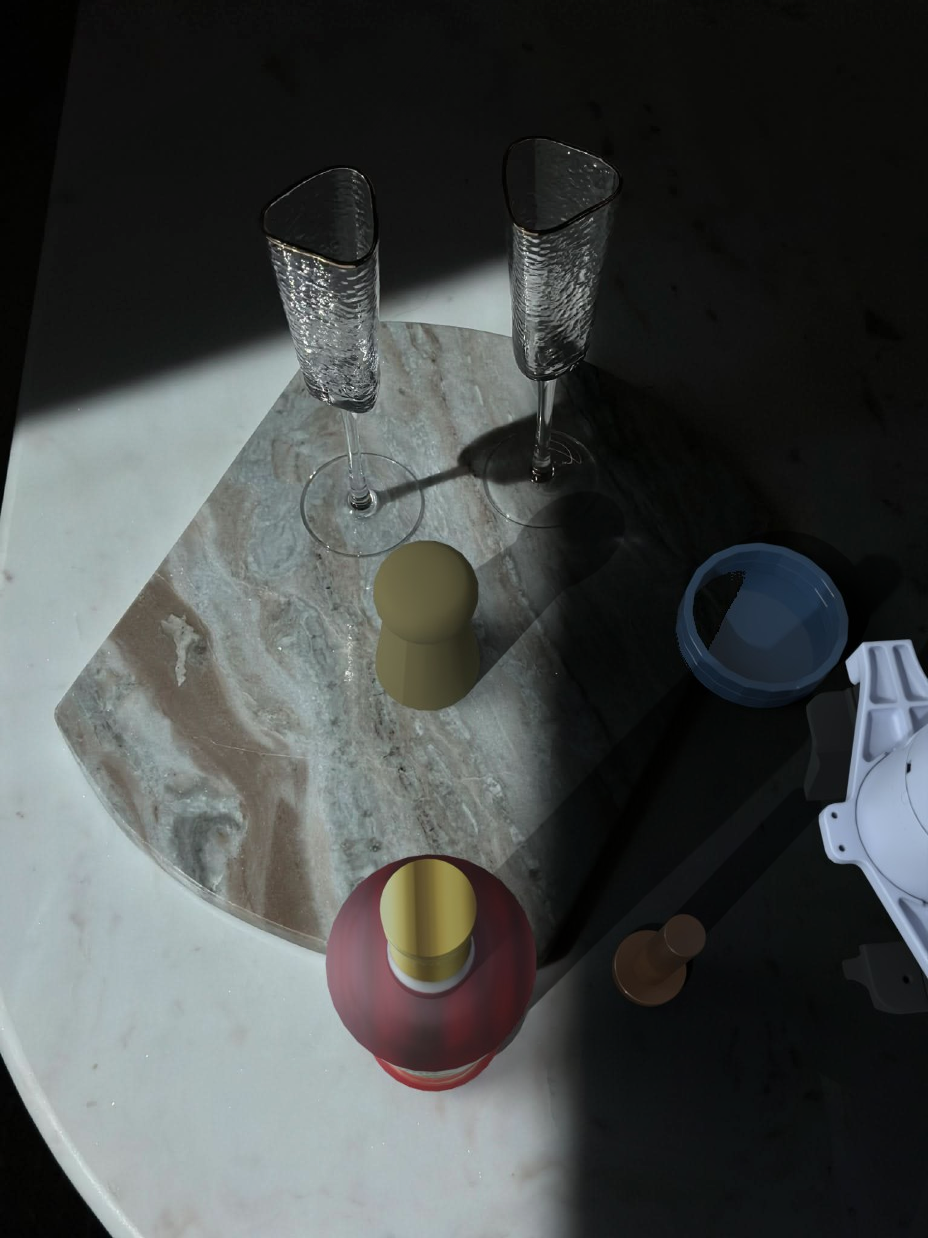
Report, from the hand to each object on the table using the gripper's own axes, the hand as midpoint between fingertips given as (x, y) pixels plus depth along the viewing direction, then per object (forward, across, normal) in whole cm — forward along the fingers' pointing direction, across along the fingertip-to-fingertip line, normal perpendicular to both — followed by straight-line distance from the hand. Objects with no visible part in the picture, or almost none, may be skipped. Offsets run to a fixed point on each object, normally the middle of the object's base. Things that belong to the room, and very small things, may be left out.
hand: (845, 878), depth 50 cm
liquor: (+11, +3, -18) cm, 21 cm away
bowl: (+10, -16, +2) cm, 19 cm away
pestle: (+11, +2, -7) cm, 13 cm away
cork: (+11, -16, -17) cm, 26 cm away
